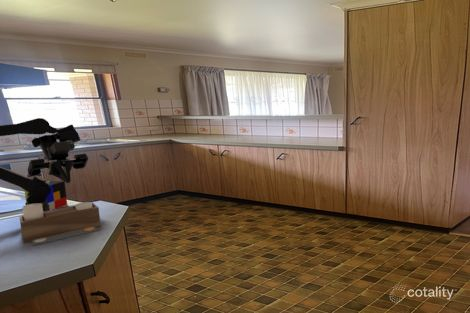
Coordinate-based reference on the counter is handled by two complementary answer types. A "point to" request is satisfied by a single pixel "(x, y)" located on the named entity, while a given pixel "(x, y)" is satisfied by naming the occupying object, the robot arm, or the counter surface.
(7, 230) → the counter surface
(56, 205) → the puzzle toy
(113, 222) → the counter surface
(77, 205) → the beige cylinder
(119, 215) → the counter surface
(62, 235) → the pattern card
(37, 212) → the unmarked button
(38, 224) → the button console
